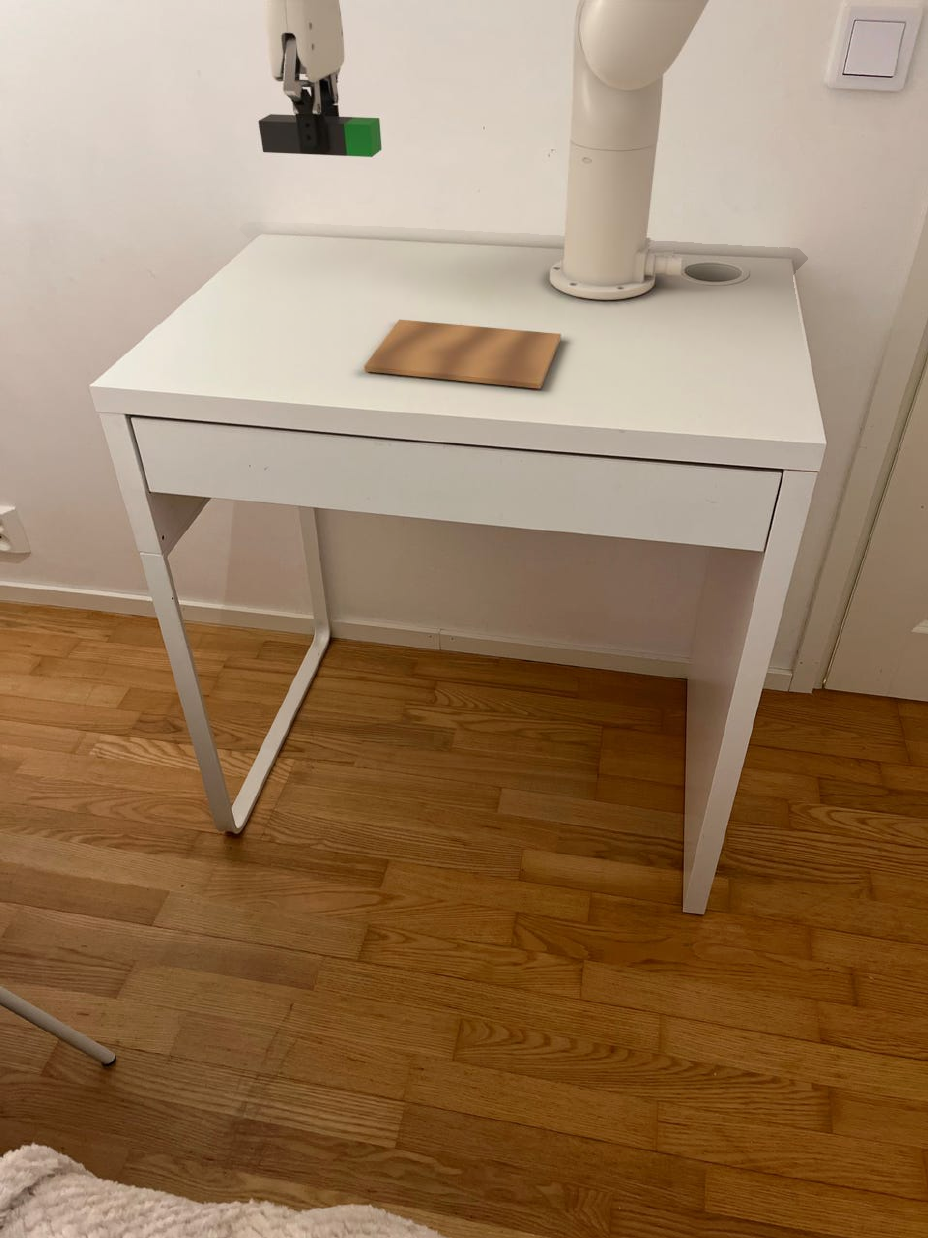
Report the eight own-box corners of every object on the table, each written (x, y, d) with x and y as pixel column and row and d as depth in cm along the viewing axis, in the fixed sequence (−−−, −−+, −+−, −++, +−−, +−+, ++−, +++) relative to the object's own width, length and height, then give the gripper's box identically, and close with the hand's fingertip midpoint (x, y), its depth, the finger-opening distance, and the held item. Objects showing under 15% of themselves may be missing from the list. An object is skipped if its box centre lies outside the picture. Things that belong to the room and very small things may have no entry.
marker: (262, 152, 105) (258, 120, 103) (274, 144, 107) (270, 113, 105) (372, 157, 102) (369, 124, 100) (381, 149, 104) (379, 117, 102)
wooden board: (560, 338, 100) (561, 333, 100) (540, 388, 91) (540, 383, 91) (399, 324, 103) (399, 319, 103) (364, 371, 94) (364, 365, 94)
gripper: (296, -61, 99) (317, 129, 111) (226, -45, 87) (259, 167, 99) (362, -62, 98) (377, 131, 110) (301, -45, 86) (325, 170, 98)
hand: (321, 146), depth 104 cm, fingers closed on marker, 3 cm apart
